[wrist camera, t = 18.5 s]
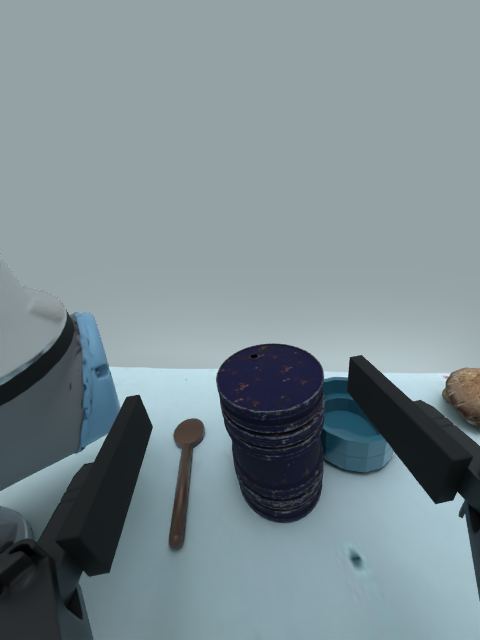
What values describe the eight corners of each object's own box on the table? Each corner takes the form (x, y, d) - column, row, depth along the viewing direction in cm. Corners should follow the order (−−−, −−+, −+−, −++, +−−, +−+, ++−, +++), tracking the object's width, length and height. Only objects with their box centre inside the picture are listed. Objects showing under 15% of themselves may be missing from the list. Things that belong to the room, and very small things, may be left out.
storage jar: (343, 492, 24) (353, 381, 18) (262, 547, 21) (240, 436, 15) (289, 424, 32) (283, 334, 26) (226, 456, 29) (202, 362, 23)
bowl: (307, 467, 27) (306, 435, 24) (305, 403, 36) (304, 375, 33) (406, 482, 24) (416, 448, 22) (378, 408, 33) (382, 378, 30)
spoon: (199, 547, 21) (196, 540, 21) (153, 557, 21) (149, 550, 21) (205, 420, 35) (203, 414, 35) (177, 425, 35) (175, 419, 34)
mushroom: (421, 369, 34) (461, 353, 29) (473, 385, 34) (522, 371, 29) (432, 424, 30) (481, 417, 25) (491, 443, 30) (553, 439, 24)
